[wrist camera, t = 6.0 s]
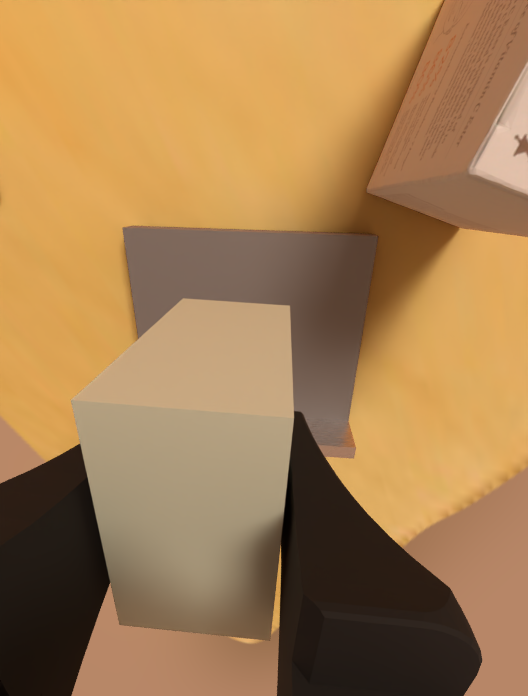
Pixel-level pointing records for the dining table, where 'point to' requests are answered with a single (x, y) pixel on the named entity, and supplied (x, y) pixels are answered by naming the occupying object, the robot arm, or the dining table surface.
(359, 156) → the dining table surface
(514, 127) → the small box
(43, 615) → the robot arm
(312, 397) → the grey square slab
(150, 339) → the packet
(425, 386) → the dining table surface
